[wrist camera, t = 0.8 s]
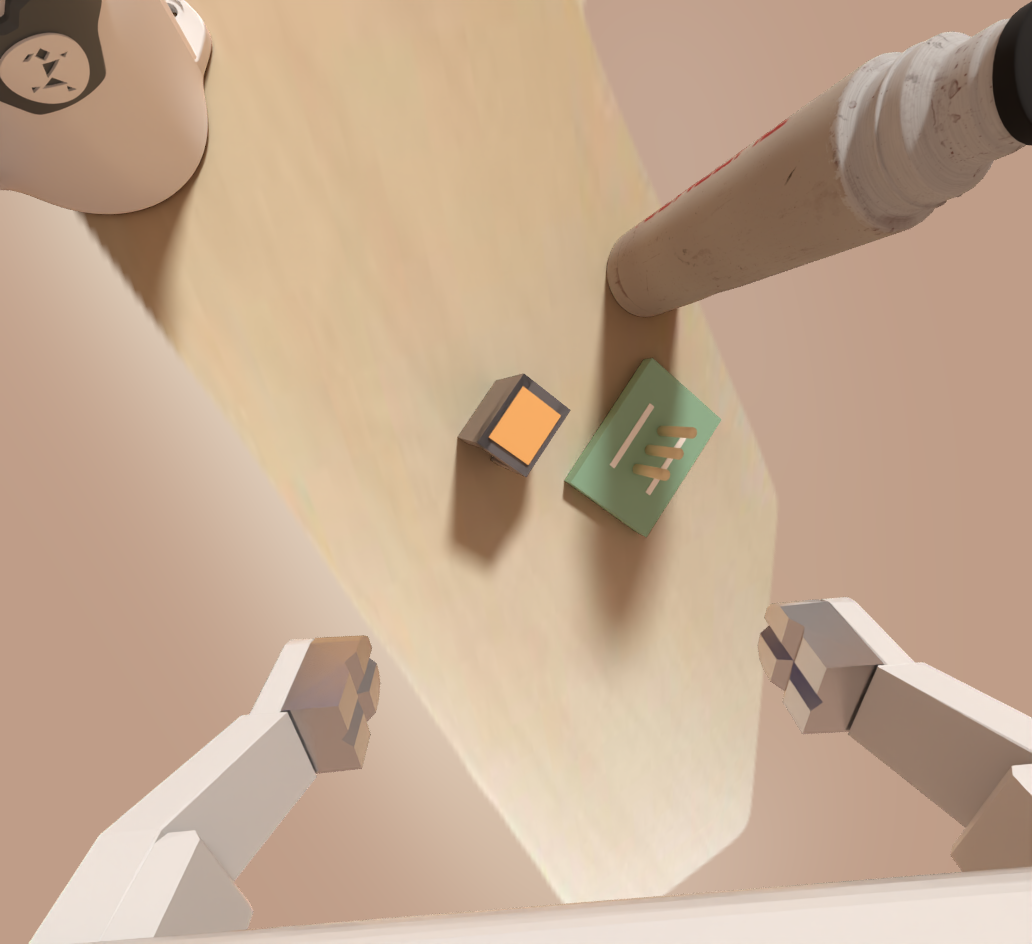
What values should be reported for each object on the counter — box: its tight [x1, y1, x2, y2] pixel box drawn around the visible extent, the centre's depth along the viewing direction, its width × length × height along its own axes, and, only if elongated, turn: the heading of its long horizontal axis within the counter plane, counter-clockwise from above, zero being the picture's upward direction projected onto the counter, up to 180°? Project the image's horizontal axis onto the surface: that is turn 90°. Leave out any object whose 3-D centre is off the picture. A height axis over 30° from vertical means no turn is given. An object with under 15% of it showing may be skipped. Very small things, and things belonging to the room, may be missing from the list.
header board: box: [564, 358, 721, 537], centre depth 43 cm, size 14×10×6 cm
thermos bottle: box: [607, 2, 1032, 317], centre depth 30 cm, size 8×8×28 cm
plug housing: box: [458, 374, 570, 477], centre depth 37 cm, size 6×4×8 cm
